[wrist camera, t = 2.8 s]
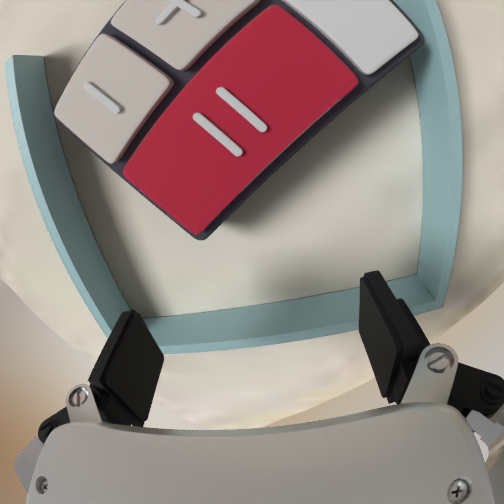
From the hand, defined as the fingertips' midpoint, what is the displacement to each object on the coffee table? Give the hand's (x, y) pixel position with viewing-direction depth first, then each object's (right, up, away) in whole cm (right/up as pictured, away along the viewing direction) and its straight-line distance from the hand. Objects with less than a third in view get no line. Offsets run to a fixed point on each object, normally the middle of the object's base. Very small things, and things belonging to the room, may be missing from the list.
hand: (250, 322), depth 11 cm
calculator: (-1, +13, +1) cm, 13 cm away
